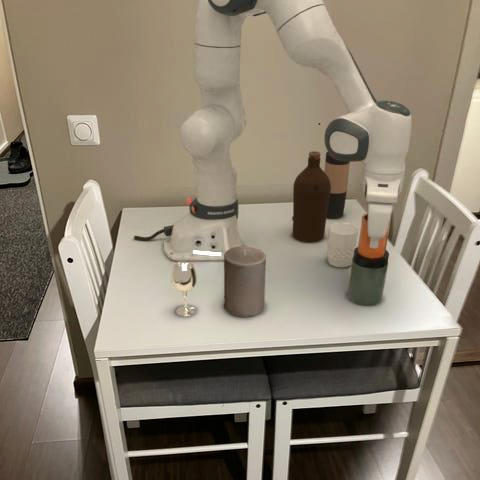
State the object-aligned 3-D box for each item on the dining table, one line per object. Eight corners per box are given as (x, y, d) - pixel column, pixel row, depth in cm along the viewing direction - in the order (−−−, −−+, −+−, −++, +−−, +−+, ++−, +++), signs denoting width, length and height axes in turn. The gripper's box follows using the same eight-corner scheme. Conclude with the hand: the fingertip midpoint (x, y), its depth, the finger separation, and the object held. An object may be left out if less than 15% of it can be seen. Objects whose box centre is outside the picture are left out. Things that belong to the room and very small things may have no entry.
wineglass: (178, 319, 127) (174, 274, 120) (170, 307, 131) (167, 262, 125) (201, 314, 129) (199, 269, 122) (193, 302, 133) (191, 258, 127)
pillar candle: (215, 307, 131) (214, 250, 123) (242, 292, 138) (242, 236, 129) (247, 322, 126) (248, 263, 118) (273, 305, 132) (275, 248, 124)
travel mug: (317, 210, 182) (323, 150, 171) (340, 210, 183) (347, 149, 172) (323, 220, 176) (329, 157, 165) (346, 219, 177) (354, 156, 166)
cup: (364, 259, 126) (369, 225, 121) (353, 247, 131) (357, 214, 126) (389, 257, 127) (395, 222, 123) (377, 245, 132) (383, 212, 128)
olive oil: (333, 238, 165) (342, 154, 151) (306, 247, 159) (313, 161, 146) (309, 226, 172) (315, 145, 158) (283, 234, 167) (287, 151, 153)
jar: (355, 307, 132) (361, 264, 125) (342, 290, 138) (347, 248, 132) (387, 303, 133) (395, 260, 127) (373, 286, 140) (380, 245, 134)
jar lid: (361, 269, 126) (362, 261, 125) (347, 253, 133) (348, 246, 132) (393, 266, 128) (395, 258, 127) (378, 250, 134) (380, 243, 133)
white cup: (353, 270, 148) (358, 235, 142) (324, 267, 149) (327, 233, 143) (354, 257, 154) (359, 223, 149) (326, 254, 155) (329, 221, 150)
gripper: (368, 166, 129) (361, 221, 136) (366, 196, 112) (358, 257, 120) (395, 168, 128) (387, 223, 135) (398, 199, 111) (388, 260, 119)
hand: (373, 239), depth 127 cm, fingers closed on cup, 6 cm apart
